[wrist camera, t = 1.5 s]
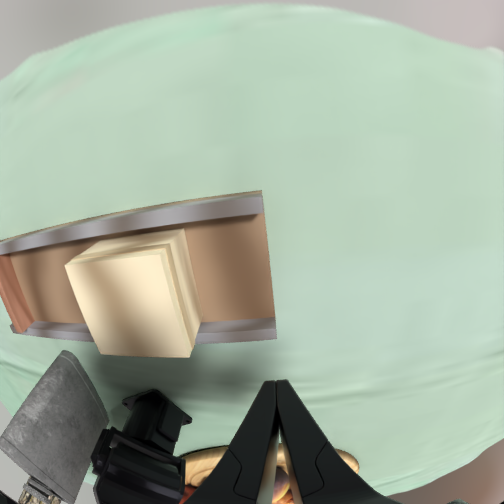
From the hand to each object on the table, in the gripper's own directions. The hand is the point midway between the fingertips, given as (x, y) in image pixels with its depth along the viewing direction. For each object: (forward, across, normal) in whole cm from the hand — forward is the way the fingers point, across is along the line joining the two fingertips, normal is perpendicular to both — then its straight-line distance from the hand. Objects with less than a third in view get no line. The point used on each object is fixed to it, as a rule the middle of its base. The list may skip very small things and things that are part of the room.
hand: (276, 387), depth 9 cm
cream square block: (+11, +9, 0) cm, 14 cm away
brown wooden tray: (+12, +15, 0) cm, 19 cm away
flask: (+12, +25, +16) cm, 32 cm away
